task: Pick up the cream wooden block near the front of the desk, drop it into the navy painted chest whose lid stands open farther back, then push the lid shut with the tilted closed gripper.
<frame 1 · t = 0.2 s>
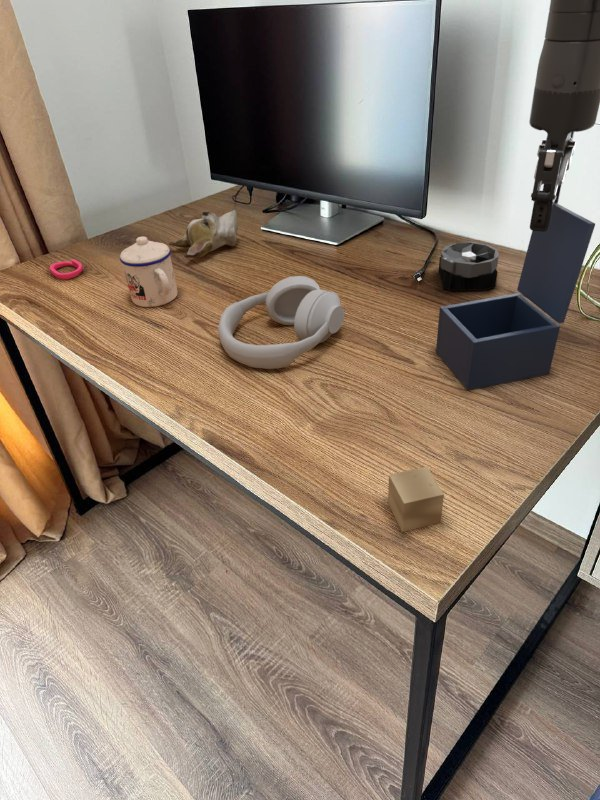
hand: (543, 218, 78), 20 cm above the table, tool pointing down, fingers open, 8 cm apart
teacup with lid: (158, 300, 110), on the table
chest: (490, 362, 87), on the table
lid: (552, 260, 79), point 15 cm above the table, hinge at 95.0°
fitness band: (68, 273, 123), on the table
ceramic sculpture: (209, 251, 128), on the table
cpu cooler: (465, 281, 108), on the table
headphones: (281, 340, 96), on the table
block: (413, 512, 64), on the table
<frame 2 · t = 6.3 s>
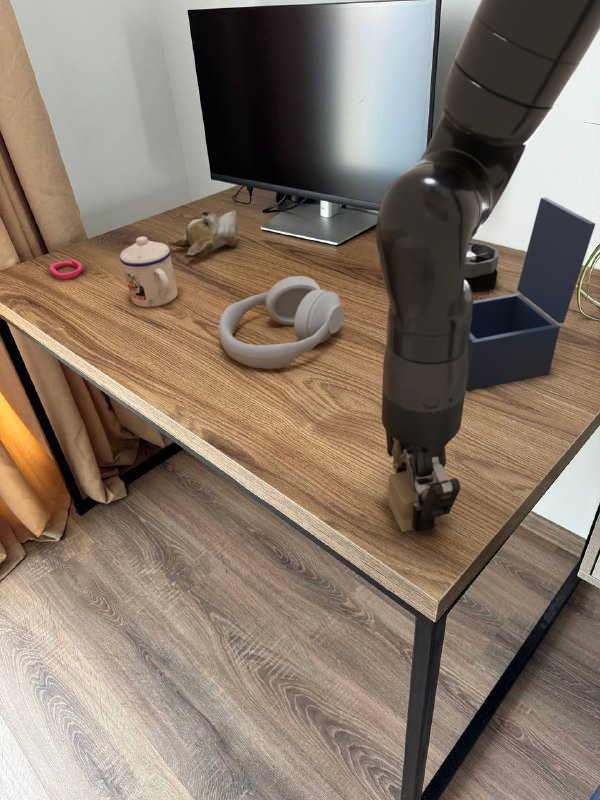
hand: (413, 510, 64), 0 cm above the table, tool pointing down, fingers closed on block, 4 cm apart
block: (413, 512, 64), on the table, touching gripper
everything else where it was.
when the fingers open (17 cm above the table, at t = 13.6 s): block drops 16 cm, resting on chest.
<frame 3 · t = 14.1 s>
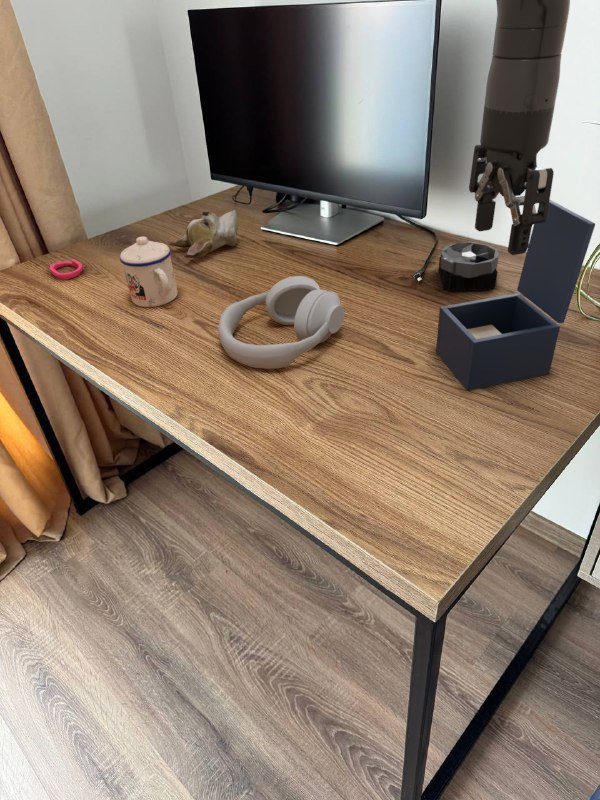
hand: (499, 241, 75), 19 cm above the table, tool pointing down, fingers open, 8 cm apart
block: (481, 360, 86), point 1 cm above the table, touching chest
everything else where it was.
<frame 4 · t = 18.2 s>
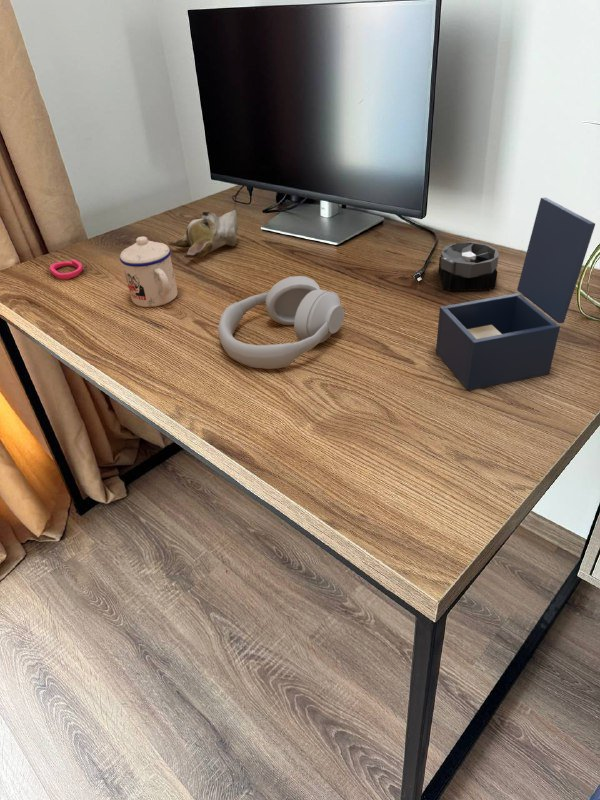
nothing on the table moved.
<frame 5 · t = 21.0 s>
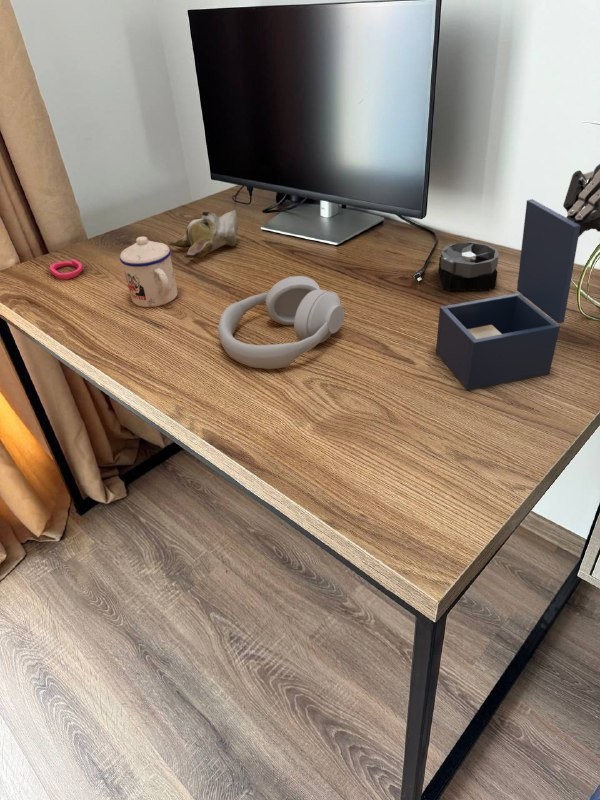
hand: (554, 245, 77), 17 cm above the table, tool tilted 45°, fingers closed
lid: (545, 261, 78), point 15 cm above the table, hinge at 86.2°, touching gripper
everything else where it was.
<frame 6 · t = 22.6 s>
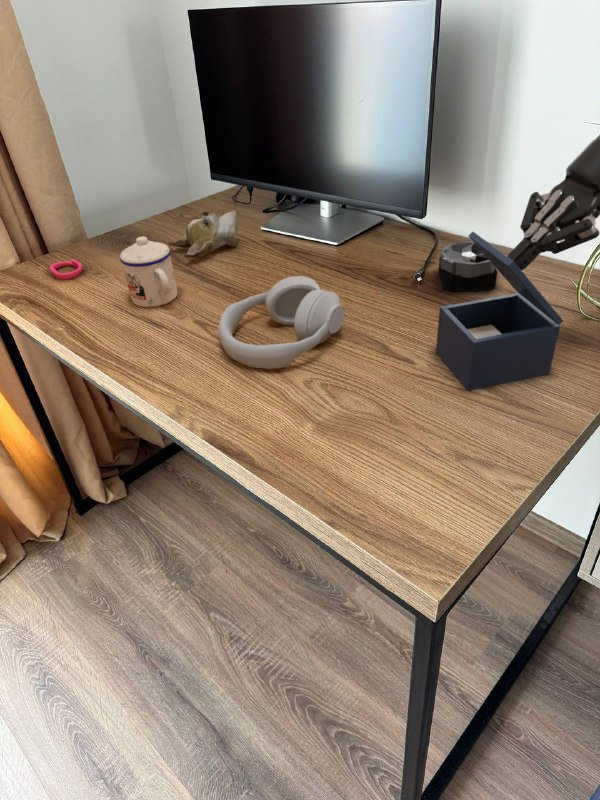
hand: (511, 266, 78), 15 cm above the table, tool tilted 45°, fingers closed
lid: (515, 278, 79), point 13 cm above the table, hinge at 47.8°, touching gripper
everything else where it was.
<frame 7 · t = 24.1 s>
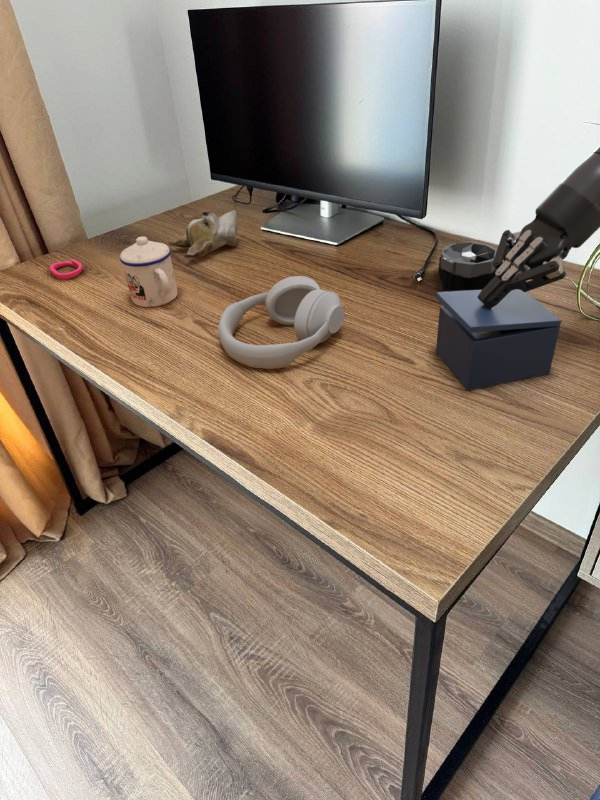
hand: (483, 303, 80), 10 cm above the table, tool tilted 45°, fingers closed
lid: (496, 308, 81), point 9 cm above the table, hinge at 6.7°, touching gripper
everything else where it was.
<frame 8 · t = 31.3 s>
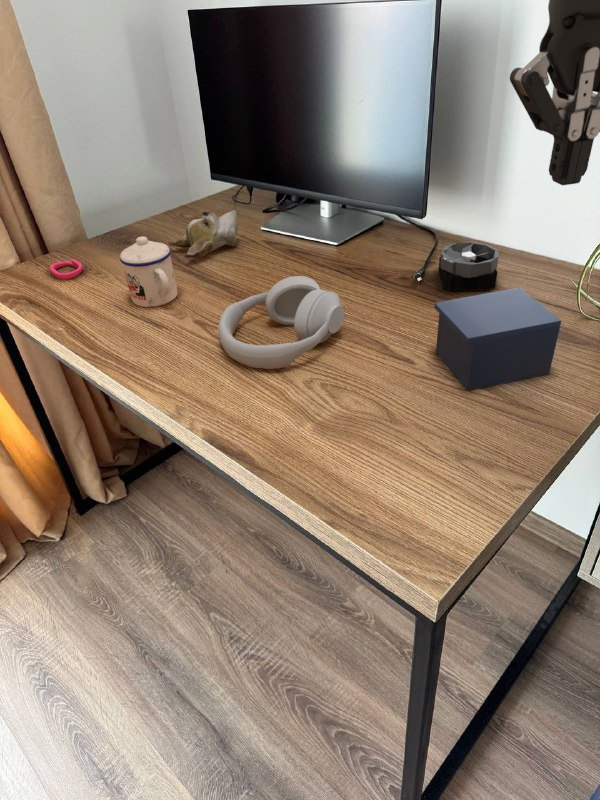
hand: (564, 182, 52), 32 cm above the table, tool pointing down, fingers closed
lid: (495, 313, 82), point 8 cm above the table, hinge at -0.2°, touching chest
everything else where it was.
at the end: lid at +0° (first picture: +95°); block inside the target area in the chest (1.6 cm from its centre), point 0.8 cm above the chest's base; the gripper is holding nothing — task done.
